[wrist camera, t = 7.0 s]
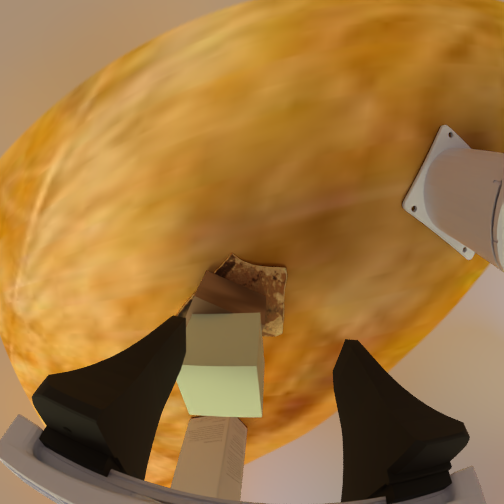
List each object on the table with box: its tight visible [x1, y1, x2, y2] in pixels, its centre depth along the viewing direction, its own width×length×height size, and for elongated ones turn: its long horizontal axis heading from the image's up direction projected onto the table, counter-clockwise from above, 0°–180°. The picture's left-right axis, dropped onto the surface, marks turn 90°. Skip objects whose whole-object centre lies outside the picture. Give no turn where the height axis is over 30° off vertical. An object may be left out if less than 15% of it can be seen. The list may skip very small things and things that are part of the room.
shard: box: [177, 253, 287, 336], centre depth 23 cm, size 11×8×2 cm
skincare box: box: [171, 416, 247, 501], centre depth 24 cm, size 6×4×12 cm
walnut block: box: [185, 271, 266, 330], centre depth 21 cm, size 5×5×4 cm
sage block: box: [176, 313, 264, 417], centre depth 17 cm, size 4×4×5 cm
